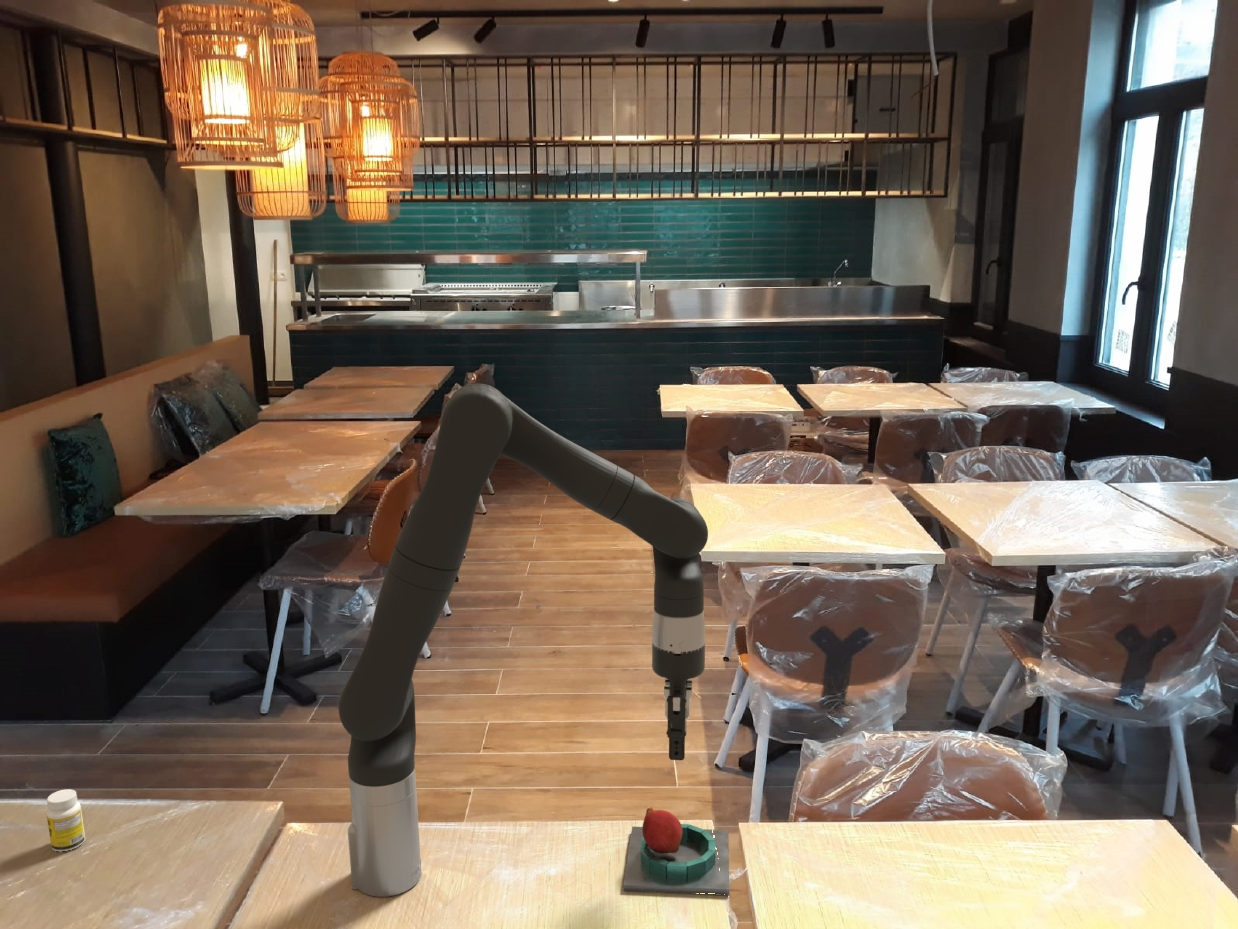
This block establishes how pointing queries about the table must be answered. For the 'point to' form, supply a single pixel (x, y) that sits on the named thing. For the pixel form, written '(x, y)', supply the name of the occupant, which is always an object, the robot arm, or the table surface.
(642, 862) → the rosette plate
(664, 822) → the onion
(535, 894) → the table surface
